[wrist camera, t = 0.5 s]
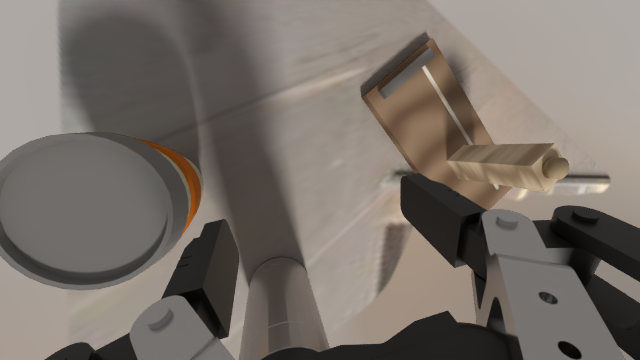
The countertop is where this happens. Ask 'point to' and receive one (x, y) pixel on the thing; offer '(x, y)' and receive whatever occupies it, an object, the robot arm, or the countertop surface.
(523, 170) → the wooden pepper mill
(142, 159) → the reusable coffee cup
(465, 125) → the walnut board
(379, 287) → the countertop surface
